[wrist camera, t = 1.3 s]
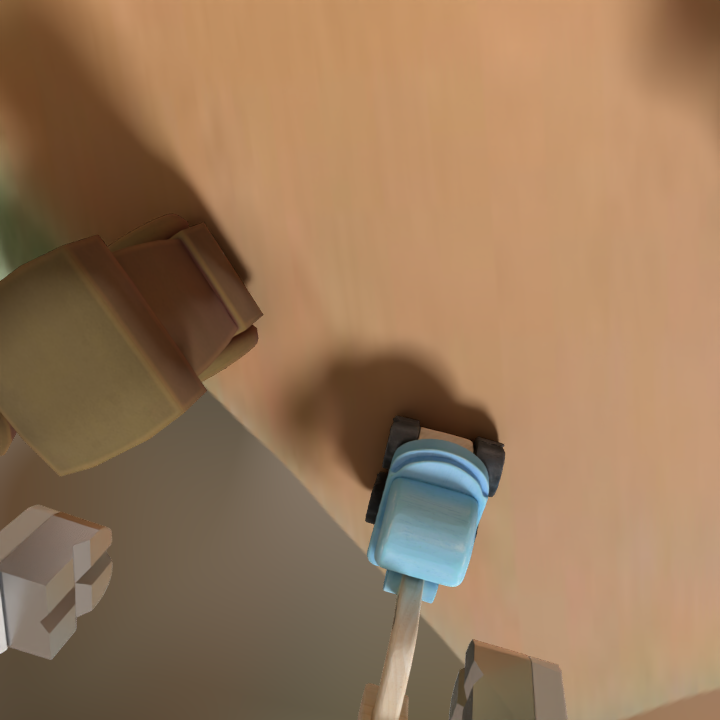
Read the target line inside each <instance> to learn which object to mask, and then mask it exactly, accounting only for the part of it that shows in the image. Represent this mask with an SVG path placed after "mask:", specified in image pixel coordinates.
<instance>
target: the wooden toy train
mask: <svg viewBox="0 0 720 720" xmlns="http://www.w3.org/2000/svg"><path fill="white" fill-rule="evenodd" d="M262 315H263V313H262V312H261V310H260V309H259V307H258V306H257V304H256V303H255V301H254V299H253V298H252V296H251V295H250V293H249V292H248V290H247V289H246V287H245V285H244V284H243V282H242V281H241V279H240V278H239V276H238V275H237V273H236V271H235V270H234V268H233V267H232V265H231V264H230V262H229V261H228V259H227V257H226V256H225V254H224V253H223V251H222V250H221V248H220V247H219V245H218V243H217V242H216V240H215V239H214V237H213V236H212V234H211V233H210V231H209V230H208V228H207V226H206V225H205V223H204V222H203V223H200V224H197V225H195V226H192V227H189V225H188V222H187V221H186V220H185V219H183V218H182V217H180V216H179V215H175V214H168V215H165V216H162V217H159V218H157V219H155V220H153V221H150V222H148V223H146V224H144V225H142V226H141V227H139V228H137V229H135V230H133V231H131V232H130V233H128V234H126V235H125V236H123V237H121V238H120V239H118V240H117V241H115V242H114V243H112V244H111V245H109V246H108V247H107V246H106V245H105V243H104V242H103V240H102V239H101V238H100V236H99V235H95V236H92V237H89V238H85V239H82V240H79V241H76V242H72V243H69V244H66V245H63V246H60V247H58V248H56V249H54V250H52V251H50V252H48V253H46V254H44V255H42V256H40V257H38V258H36V259H34V260H32V261H30V262H27V263H25V264H23V265H21V266H20V267H18V268H17V269H16V270H14V271H13V272H12V273H10V274H9V275H8V276H6V277H5V278H4V279H2V280H1V281H0V456H2V455H5V453H6V452H7V450H8V448H9V446H10V444H11V442H12V440H13V438H14V437H15V435H16V433H18V434H19V436H20V437H21V438H22V439H23V440H24V441H25V442H26V443H27V444H28V445H29V446H30V447H31V448H32V449H33V450H34V451H35V452H36V453H37V454H38V455H39V456H40V457H41V458H42V459H43V460H44V461H45V462H46V463H47V464H48V465H49V466H50V467H51V468H52V469H53V470H54V471H55V472H56V473H57V474H58V475H59V476H64V475H68V474H71V473H75V472H78V471H82V470H85V469H88V468H92V467H95V466H97V465H99V464H101V463H103V462H105V461H107V460H109V459H111V458H113V457H115V456H117V455H119V454H121V453H123V452H125V451H127V450H129V449H131V448H133V447H135V446H137V445H139V444H140V443H142V442H145V441H147V440H149V439H150V438H152V437H153V436H154V435H155V434H157V433H158V432H159V431H161V430H162V429H163V428H165V427H166V426H167V425H169V424H170V423H171V422H173V421H174V420H175V419H177V418H178V417H179V416H181V415H182V414H183V413H184V412H185V411H186V410H188V408H190V407H191V406H192V405H193V404H194V403H195V402H196V401H197V400H198V399H199V398H200V397H201V396H202V395H203V394H204V393H205V392H206V391H207V390H206V388H205V387H204V385H203V384H202V382H203V381H205V380H206V379H208V378H210V377H212V376H213V375H215V374H217V373H218V372H220V371H222V370H223V369H226V368H227V367H228V366H229V365H231V364H232V363H234V362H235V361H237V360H238V359H239V358H241V357H242V356H243V355H245V354H246V353H247V352H249V351H250V350H251V349H252V348H253V347H254V346H255V345H256V344H257V341H258V333H257V328H256V327H255V326H254V325H252V324H253V323H254V322H256V321H257V320H258V319H259V318H260V317H261V316H262Z"/></svg>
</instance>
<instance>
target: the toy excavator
mask: <svg viewBox="0 0 720 720" xmlns="http://www.w3.org/2000/svg"><path fill="white" fill-rule="evenodd" d="M393 421H394V422H393V425H392V426H391V429H390V436H389V439H388V443H387V447H386V451H385V456H384V459H383V465H382V467H383V468H386V469H389V473H388V474H387V473H384V472H379V473H378V474H377V479H376V482H375V484H374V487H373V490H372V493H371V498H370V501H369V505H368V510H367V514H366V519H365V521H366V522H368V523H371V524H375V525H374V528H373V532H372V536H371V540H370V544H369V548H368V552H367V557H368V560H369V561H370V562H371V563H372V564H374V565H377V566H380V567H382V568H385V569H387V571H386V576H385V581H384V587H383V590H384V591H387V592H390V593H394V594H396V595H397V598H396V606H395V613H394V620H393V625H392V631H391V636H390V641H389V645H388V650H387V655H386V659H385V663H384V668H383V672H382V677H381V681H380V685H379V686H377V685H374V684H371V683H367V684H366V686H365V689H364V693H363V697H362V701H361V705H360V710H359V715H358V720H408V702H409V698H408V696H406V695H405V691H406V686H407V682H408V678H409V673H410V669H411V664H412V659H413V654H414V649H415V643H416V637H417V630H418V623H419V615H420V608H421V600H422V601H425V602H428V603H432V602H433V600H434V598H435V595H436V592H437V589H438V585H439V584H441V585H446V586H450V587H455V586H458V585H459V584H460V583H461V582H462V581H463V579H464V577H465V574H466V571H467V568H468V565H469V562H470V558H471V554H472V549H473V545H474V542H475V538H476V535H477V529H478V524H479V521H480V518H481V516H482V513H483V510H484V508H485V505H486V502H487V499H488V496H489V497H492V496H493V495H494V494H495V492H496V490H497V488H498V484H499V481H500V478H501V474H502V470H503V465H504V460H505V452H504V449H503V447H504V444H502V443H499V442H495V441H491V440H488V439H484V438H481V437H477V438H476V440H475V442H474V445H473V443H472V441H470V440H468V439H465V438H462V437H458V436H455V435H451V434H447V433H443V432H439V431H436V430H431V429H427V428H423V427H420V421H419V420H414V419H409V418H405V417H401V416H395V418H394V419H393Z"/></svg>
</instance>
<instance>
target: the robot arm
mask: <svg viewBox="0 0 720 720" xmlns="http://www.w3.org/2000/svg"><path fill="white" fill-rule="evenodd" d="M111 544H112V532H111V529H109V528H107V527H105V526H102V525H99V524H96V523H93V522H89V521H87V520H84V519H81V518H78V517H75V516H72V515H69V514H66V513H63V512H59V511H56V510H53V509H50V508H47V507H44V506H41V505H35V506H32V507H29V508H28V509H26V510H25V511H24V512H23V513H22V514H20V515H19V516H18V517H17V518H16V519H14V520H13V521H12V522H11V523H10V524H8V525H7V526H6V527H5V528H4V529H2V530H1V531H0V653H2V652H4V651H5V650H7V647H11V648H14V649H17V650H21V651H24V652H27V653H30V654H34V655H37V656H40V657H43V658H46V659H50V660H52V658H53V657H54V656H55V655H56V654H57V652H58V651H59V650H60V649H61V648H62V646H63V645H64V644H65V643H66V641H67V640H68V639H69V638H70V637H71V635H72V634H73V633H74V632H75V631H76V617H78V616H81V615H83V614H85V613H87V612H89V611H91V610H93V608H94V607H95V606H96V604H97V603H98V602H99V601H100V599H101V598H102V596H103V594H104V592H105V590H106V588H107V586H108V584H109V582H110V578H111V574H112V560H111V558H110V556H109V555H108V554H107V552H106V549H107V548H108V547H109V546H110V545H111ZM449 720H568V718H567V710H566V703H565V695H564V687H563V680H562V672H561V669H560V667H559V666H558V665H557V664H554V663H551V662H548V661H544V660H541V659H538V658H534V657H531V656H527V655H525V654H522V653H518V652H515V651H512V650H508V649H505V648H502V647H498V646H495V645H491V644H488V643H485V642H481V641H478V640H474V639H472V641H471V642H470V644H469V646H468V649H467V651H466V658H465V668H463V669H461V670H460V671H459V673H458V676H457V679H456V682H455V686H454V690H453V694H452V698H451V705H450V714H449Z"/></svg>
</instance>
